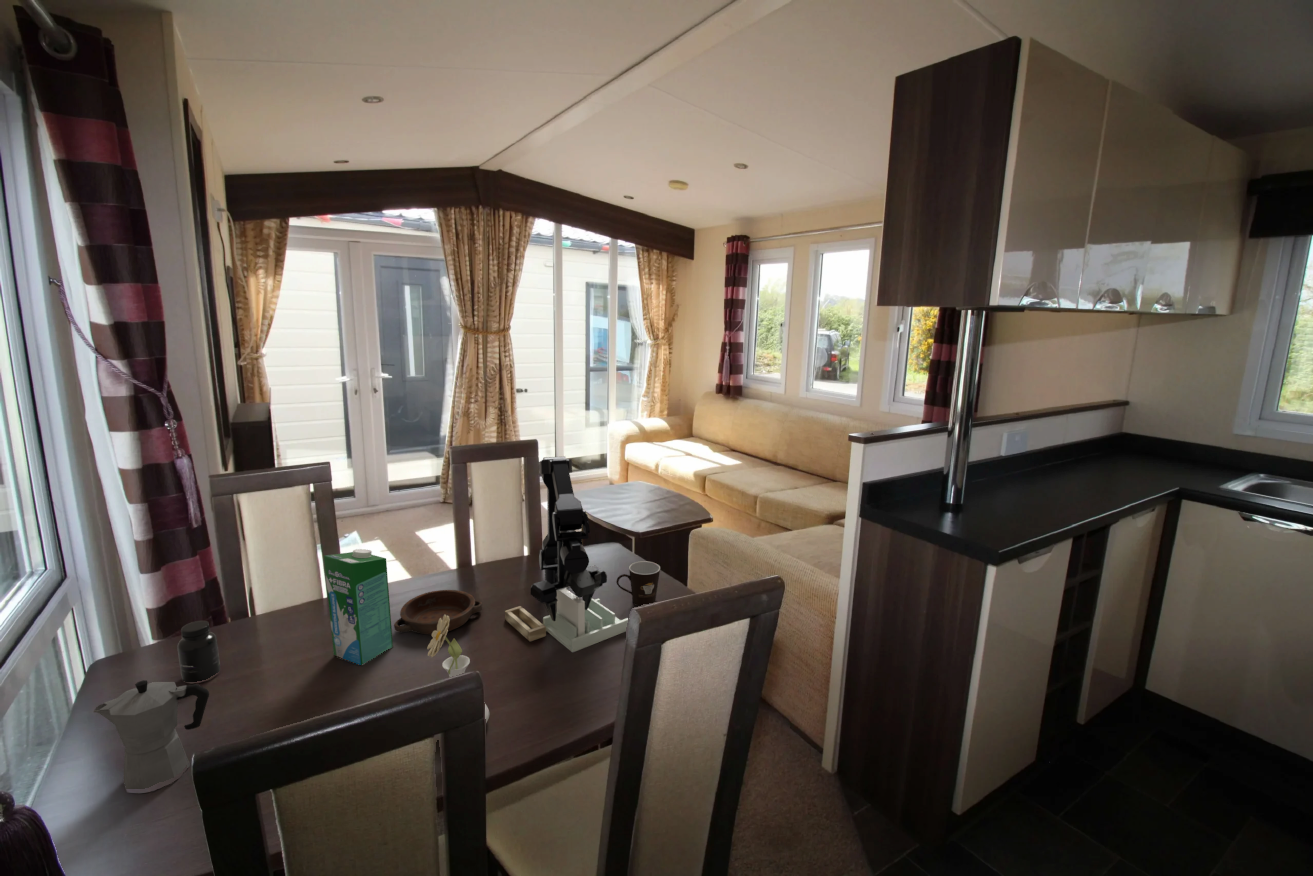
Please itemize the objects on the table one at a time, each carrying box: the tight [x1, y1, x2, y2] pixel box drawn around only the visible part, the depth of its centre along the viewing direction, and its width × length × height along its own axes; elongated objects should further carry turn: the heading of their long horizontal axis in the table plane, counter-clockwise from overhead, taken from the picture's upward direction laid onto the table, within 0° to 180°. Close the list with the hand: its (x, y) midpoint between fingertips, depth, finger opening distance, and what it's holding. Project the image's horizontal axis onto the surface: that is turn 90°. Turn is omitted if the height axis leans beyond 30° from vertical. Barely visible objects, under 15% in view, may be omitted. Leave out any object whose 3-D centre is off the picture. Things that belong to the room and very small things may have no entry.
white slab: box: [556, 588, 585, 637], centre depth 151 cm, size 10×2×10 cm, turn 40°
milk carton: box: [323, 548, 394, 666], centre depth 140 cm, size 9×9×25 cm
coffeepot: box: [93, 679, 210, 790], centre depth 104 cm, size 15×9×18 cm, turn 114°
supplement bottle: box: [176, 620, 221, 682], centre depth 131 cm, size 7×7×12 cm
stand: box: [504, 605, 547, 642], centre depth 155 cm, size 13×4×2 cm, turn 40°
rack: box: [542, 597, 628, 653], centre depth 154 cm, size 14×17×5 cm
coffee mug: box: [615, 560, 661, 607], centre depth 169 cm, size 12×9×10 cm
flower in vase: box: [426, 615, 490, 723], centre depth 115 cm, size 13×11×25 cm
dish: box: [393, 589, 483, 635], centre depth 156 cm, size 18×22×5 cm
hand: (570, 614), depth 151 cm, fingers open, 9 cm apart
